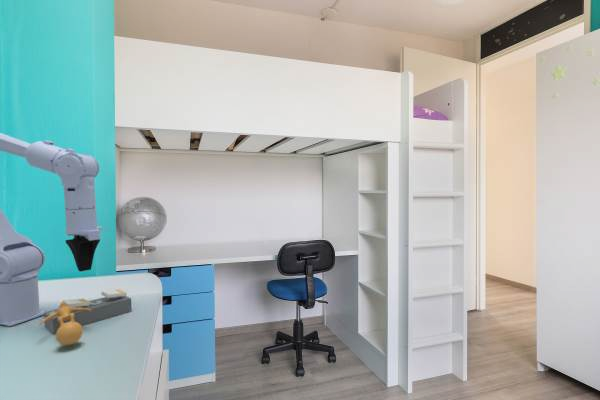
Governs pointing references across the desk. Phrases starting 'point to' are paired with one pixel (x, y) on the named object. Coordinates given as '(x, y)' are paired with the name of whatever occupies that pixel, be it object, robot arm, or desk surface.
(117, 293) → the far rocker
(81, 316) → the power strip
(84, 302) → the near rocker
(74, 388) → the desk surface
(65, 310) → the figurine
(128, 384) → the desk surface
